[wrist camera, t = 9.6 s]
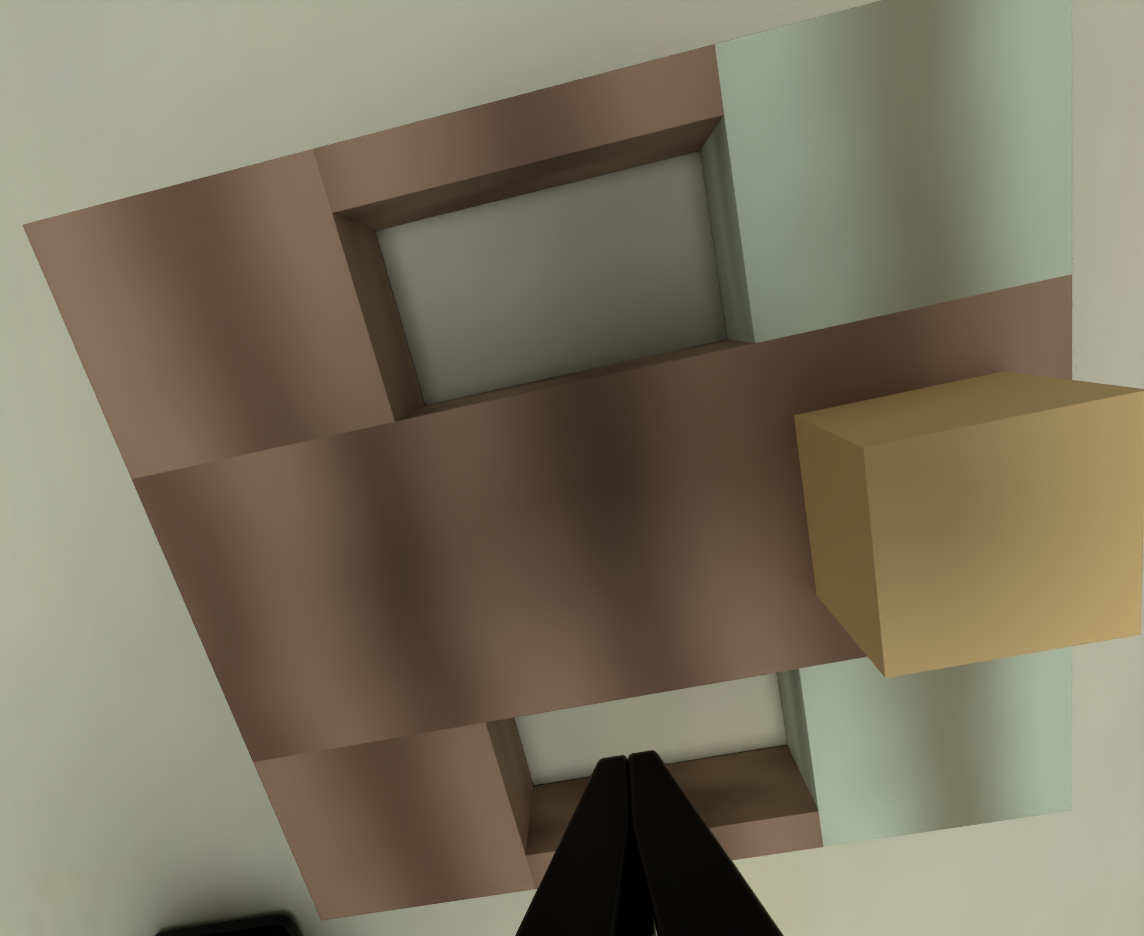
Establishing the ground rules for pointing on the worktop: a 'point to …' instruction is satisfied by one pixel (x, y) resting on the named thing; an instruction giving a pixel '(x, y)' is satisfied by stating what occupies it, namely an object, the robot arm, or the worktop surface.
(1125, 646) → the worktop surface
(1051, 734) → the trap board
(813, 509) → the ochre block
